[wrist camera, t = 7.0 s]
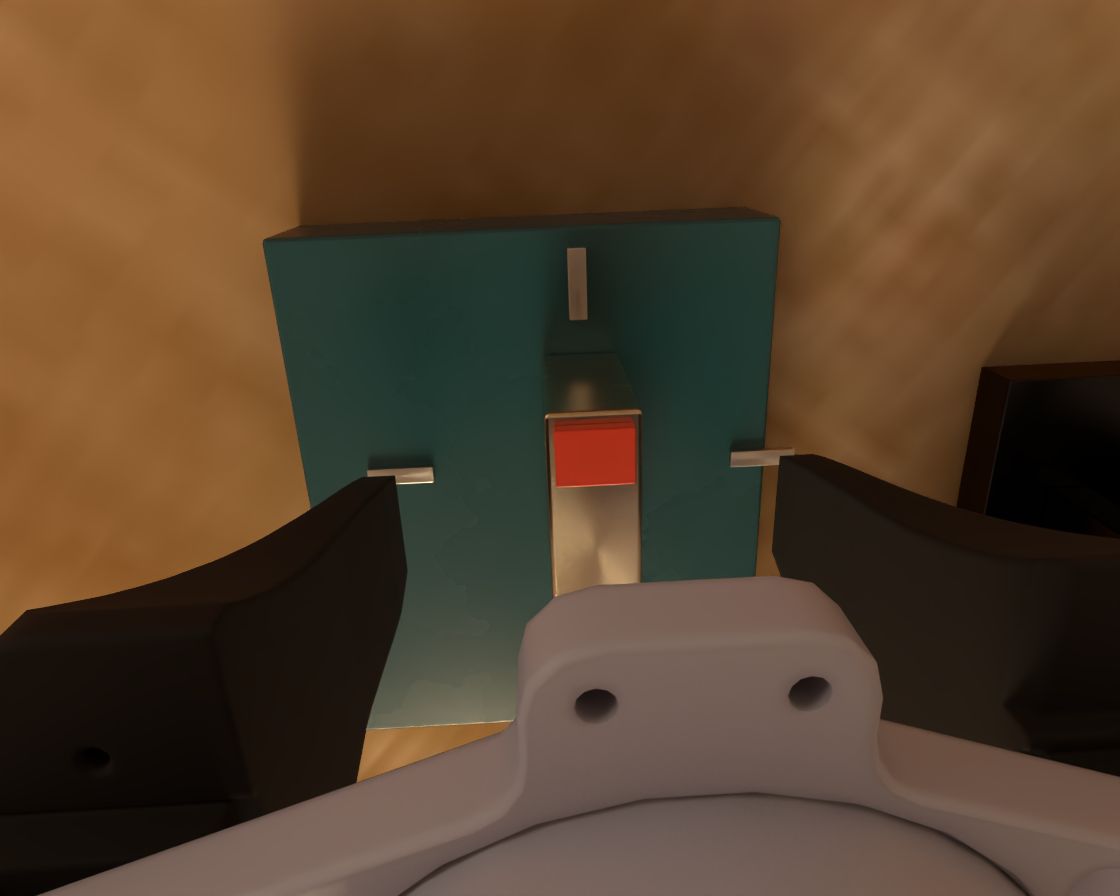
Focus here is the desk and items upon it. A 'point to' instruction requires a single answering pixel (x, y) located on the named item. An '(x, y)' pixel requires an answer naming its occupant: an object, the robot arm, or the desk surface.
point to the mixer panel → (524, 408)
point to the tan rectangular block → (592, 471)
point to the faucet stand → (1046, 447)
